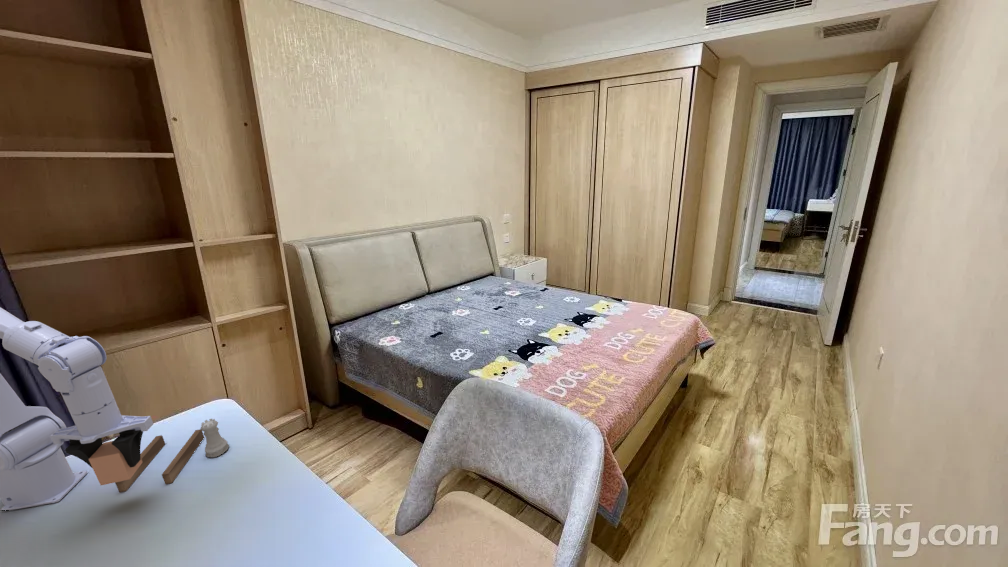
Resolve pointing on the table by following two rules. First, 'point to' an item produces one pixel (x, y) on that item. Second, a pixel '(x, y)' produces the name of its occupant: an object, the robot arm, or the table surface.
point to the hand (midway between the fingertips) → (119, 465)
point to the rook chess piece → (213, 439)
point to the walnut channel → (173, 467)
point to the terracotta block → (111, 465)
